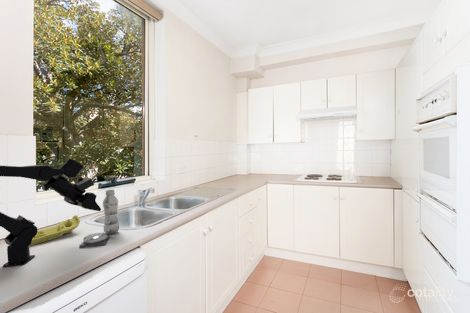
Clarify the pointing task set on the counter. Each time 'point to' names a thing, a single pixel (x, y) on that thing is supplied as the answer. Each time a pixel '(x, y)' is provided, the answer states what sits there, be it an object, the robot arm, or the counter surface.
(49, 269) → the counter surface
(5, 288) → the counter surface
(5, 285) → the counter surface
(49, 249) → the counter surface
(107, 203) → the plastic bottle
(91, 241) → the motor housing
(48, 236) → the plastic component
